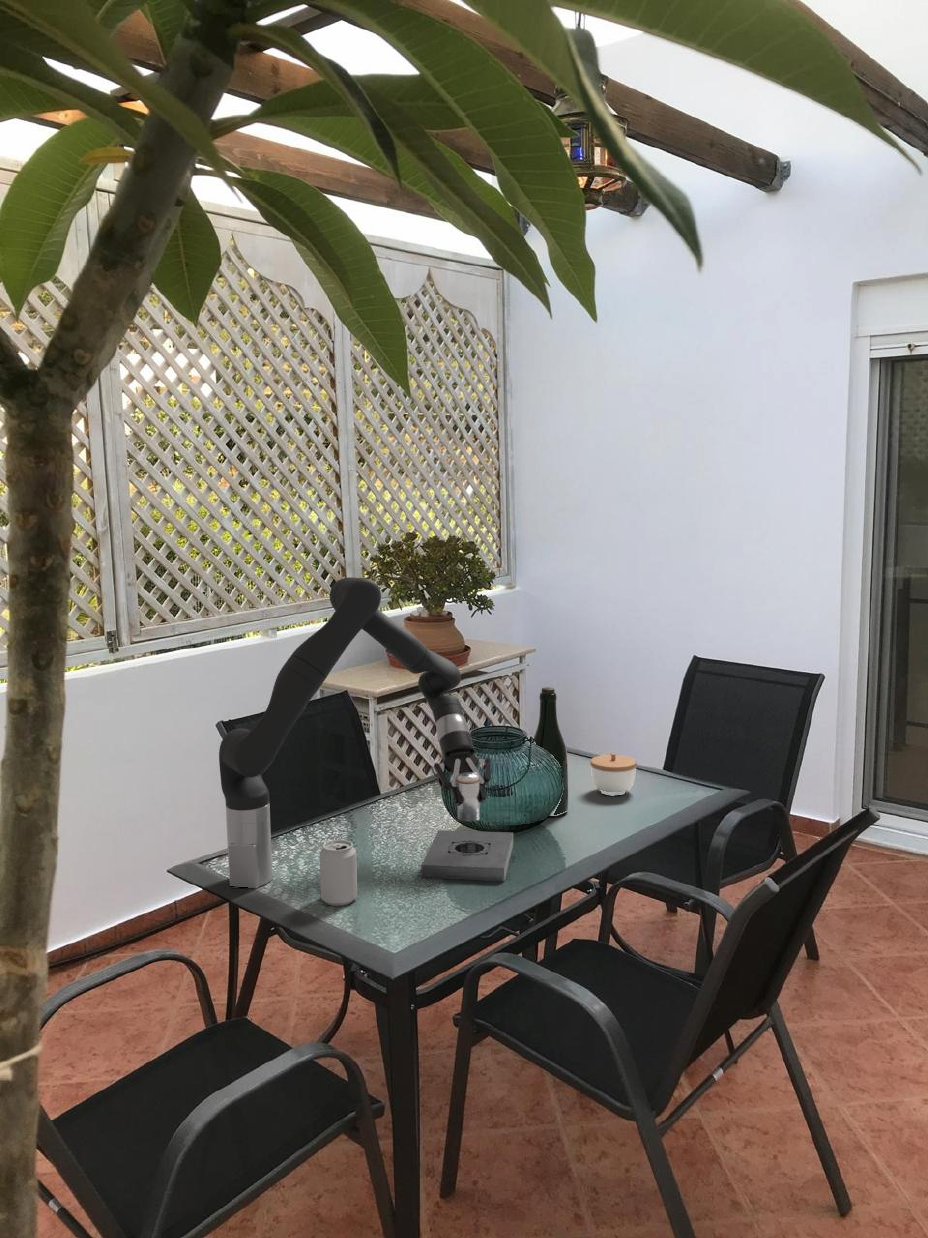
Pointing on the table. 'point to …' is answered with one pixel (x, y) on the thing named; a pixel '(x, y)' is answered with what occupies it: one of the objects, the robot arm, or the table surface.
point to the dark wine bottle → (552, 739)
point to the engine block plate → (468, 855)
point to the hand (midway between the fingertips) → (471, 802)
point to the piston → (469, 796)
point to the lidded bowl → (613, 772)
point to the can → (338, 872)
